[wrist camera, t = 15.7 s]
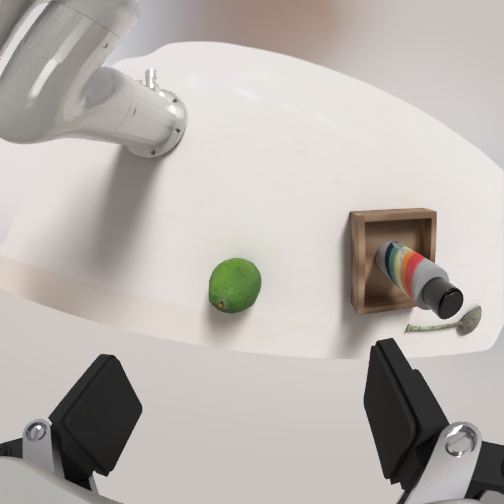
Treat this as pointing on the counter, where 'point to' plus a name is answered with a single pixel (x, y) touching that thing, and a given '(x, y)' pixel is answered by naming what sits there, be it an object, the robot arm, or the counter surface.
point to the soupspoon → (457, 323)
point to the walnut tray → (369, 241)
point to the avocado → (234, 285)
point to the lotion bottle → (419, 279)
